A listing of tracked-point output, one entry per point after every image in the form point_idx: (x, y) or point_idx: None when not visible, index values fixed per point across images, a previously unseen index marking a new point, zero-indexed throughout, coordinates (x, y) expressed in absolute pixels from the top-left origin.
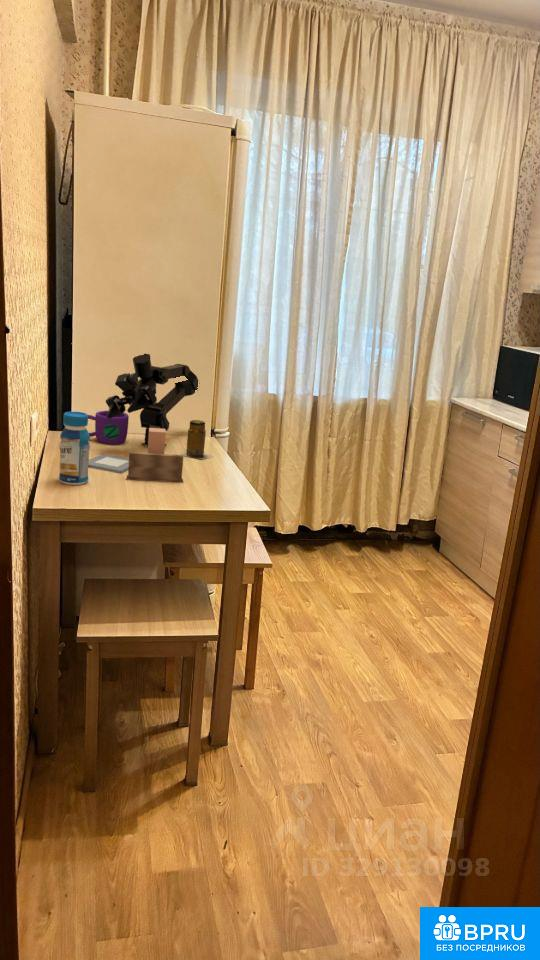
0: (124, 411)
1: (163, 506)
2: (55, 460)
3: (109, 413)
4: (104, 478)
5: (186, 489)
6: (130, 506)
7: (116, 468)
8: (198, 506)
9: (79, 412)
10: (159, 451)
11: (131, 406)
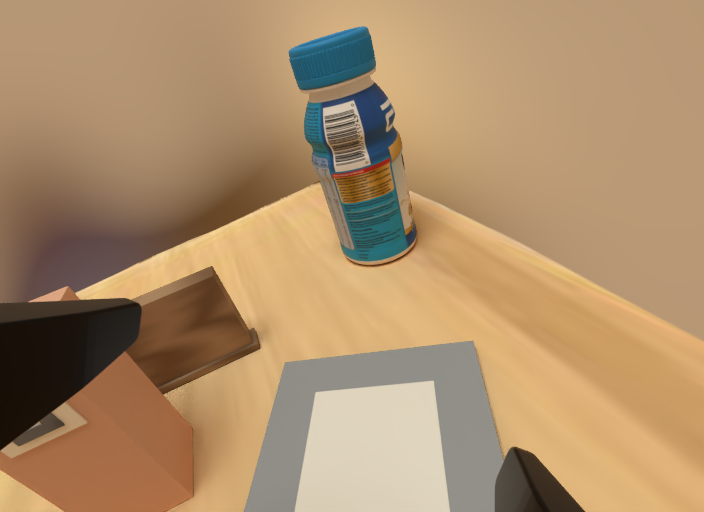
0: None
1: (159, 262)
2: (617, 335)
3: (527, 492)
4: (321, 301)
5: None
6: (220, 233)
7: (311, 374)
8: (84, 297)
9: (327, 40)
10: None
11: (40, 307)
